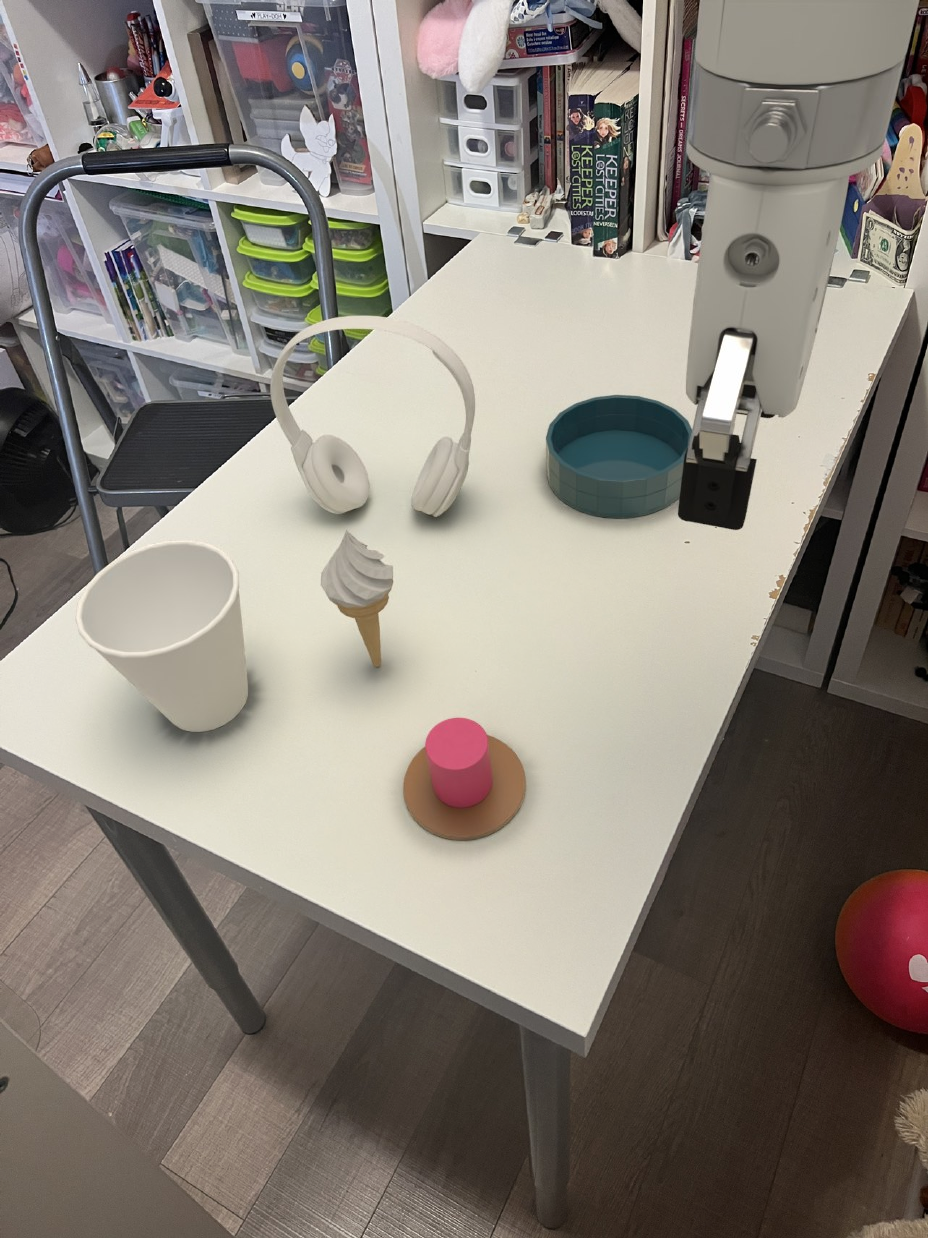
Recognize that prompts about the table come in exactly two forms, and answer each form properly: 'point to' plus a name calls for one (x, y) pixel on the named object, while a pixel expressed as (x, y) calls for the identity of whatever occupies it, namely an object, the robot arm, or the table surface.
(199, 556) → the cup
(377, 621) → the ice cream cone
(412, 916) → the table surface
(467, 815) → the coaster
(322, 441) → the headphones
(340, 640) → the table surface
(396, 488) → the table surface
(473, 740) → the pink cylinder block
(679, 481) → the bowl
